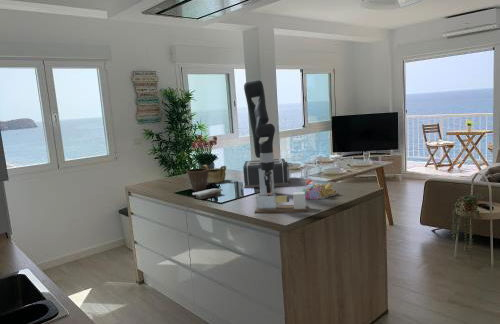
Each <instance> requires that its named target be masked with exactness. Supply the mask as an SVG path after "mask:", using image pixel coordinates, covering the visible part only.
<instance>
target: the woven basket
mask: <svg viewBox="0 0 500 324" xmlns="http://www.w3.org/2000/svg"><path fill="white" fill-rule="evenodd" d="M201 168H207V169H208V179H207V184H218V183H219V184H220V183H223V182H224V181H225V180H226V175H227V174H226V170H227V165H221V166H220V168H209V166H208V165H207V164H203V165H202V166H201Z"/></svg>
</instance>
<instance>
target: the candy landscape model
mask: <svg viewBox="0 0 500 324" xmlns="http://www.w3.org/2000/svg"><path fill="white" fill-rule="evenodd" d="M305 182H306V183H305V184H306V185H307V186H306V188H305V187H304V188H301V189H300V191H299V192H305V200H306V199H307V200H308V199H309V198H310V200H319V199H320V200H321V199H323V200H324V199H328V198H329V197H333V196H336V195H337V194H338V192H337V190H334V188H333V186H334V185H333V184H332V183H330V182H328V183H327V184H326V185H325V184H321V183H318V182H317V181H313V180H311V179H307V180H306V181H305Z"/></svg>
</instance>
